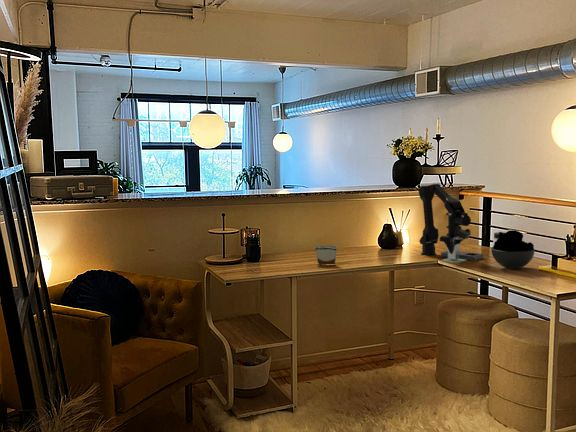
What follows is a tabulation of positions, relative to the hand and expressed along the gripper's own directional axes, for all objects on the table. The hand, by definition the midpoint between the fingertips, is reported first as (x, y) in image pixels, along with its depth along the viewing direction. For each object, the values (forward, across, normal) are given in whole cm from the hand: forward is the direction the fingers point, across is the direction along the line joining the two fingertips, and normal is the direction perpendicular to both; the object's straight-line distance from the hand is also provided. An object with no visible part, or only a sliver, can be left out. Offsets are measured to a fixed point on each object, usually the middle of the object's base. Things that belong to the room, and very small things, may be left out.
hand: (453, 252), depth 303 cm
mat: (+4, 0, 0) cm, 4 cm away
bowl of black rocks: (+4, -1, -33) cm, 33 cm away
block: (+4, +10, +7) cm, 13 cm away
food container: (+4, -49, +47) cm, 68 cm away
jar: (+4, +32, -11) cm, 34 cm away
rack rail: (+4, +10, +1) cm, 11 cm away
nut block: (+3, 0, 0) cm, 3 cm away
